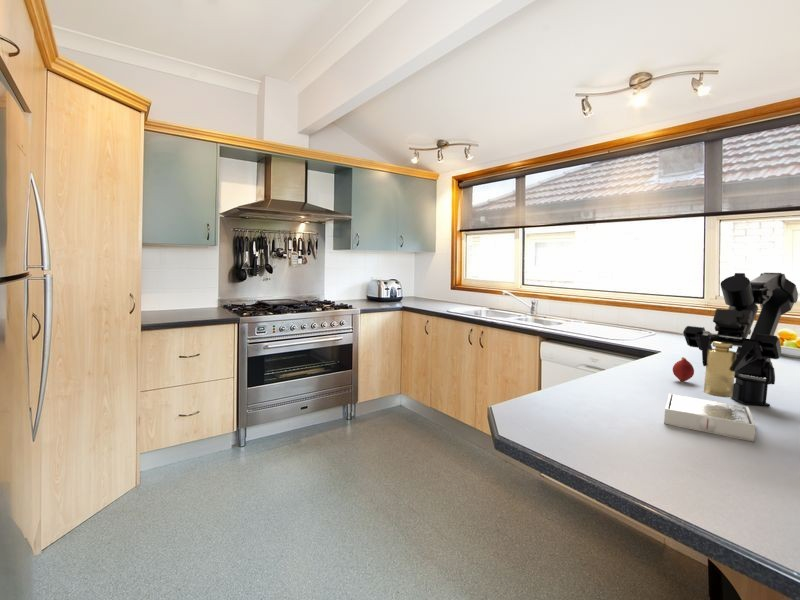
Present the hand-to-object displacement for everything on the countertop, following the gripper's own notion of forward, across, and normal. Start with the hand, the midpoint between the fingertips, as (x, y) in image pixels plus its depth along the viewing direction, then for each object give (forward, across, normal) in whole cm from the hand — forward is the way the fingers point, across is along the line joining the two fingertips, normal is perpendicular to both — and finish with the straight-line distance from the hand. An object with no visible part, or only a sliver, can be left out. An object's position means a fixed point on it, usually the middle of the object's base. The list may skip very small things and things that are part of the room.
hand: (718, 367), depth 102 cm
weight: (+4, 0, +6) cm, 7 cm away
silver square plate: (+10, 0, +4) cm, 11 cm away
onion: (-16, -20, +34) cm, 42 cm away
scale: (+12, 0, +6) cm, 13 cm away
